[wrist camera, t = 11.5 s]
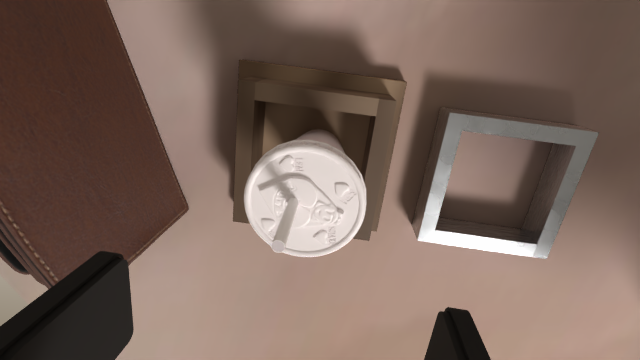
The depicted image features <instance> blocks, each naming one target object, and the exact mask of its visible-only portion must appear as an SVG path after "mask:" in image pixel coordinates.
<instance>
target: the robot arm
mask: <svg viewBox="0 0 640 360" xmlns="http://www.w3.org/2000/svg"><path fill="white" fill-rule="evenodd" d="M132 334H133V318H132V305H131V293H130V281H129V268H128V262H127V260H125V259H124V257H123V255H122V254H119V253H113V252H107V251H99V252H98V253H96V254H95V255H93V256H92V257H91V258H90V259H88V260H87V261H86V262H84V263H83V264H82V265H80V266H79V267H78V268H76V269H75V270H74V271H72V272H71V273H70V274H69V275H67V276H66V277H65V278H63V279H62V280H61V281H59V282H58V283H57V284H55V285H54V286H53V287H51V288H50V289H49V290H48V291H46V292H45V293H44V294H42V295H41V296H40V297H38V298H37V299H36V300H34V301H33V302H32V303H30V304H29V305H28V306H27V307H25V308H24V309H23V310H21V311H20V312H19V313H17V314H16V315H15V316H13V317H12V318H11V319H9V320H8V321H7V322H6V323H4V324H3V325H2V326H0V360H115V359H116V358H117V356H118V355H119V354H120V353H121V351H122V350H123V349H124V348H125V346H126V345H127V344H128V342H129V341H130V339H131V337H132ZM424 360H491V359H490V357H489V355H488V352H487V350H486V348H485V346H484V344H483V341H482V339H481V337H480V335H479V332H478V330H477V328H476V326H475V323H474V321H473V319H472V317H471V314H470V313H469V311H467V310H462V309H456V308H449V307H448V308H446V309H445V311H444V312H442V311H440V312H439V313H438V315H437V319H436V322H435V325H434V329H433V332H432V335H431V339H430V342H429V345H428V349H427V352H426V355H425V359H424Z"/></svg>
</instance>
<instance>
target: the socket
mask: <svg viewBox="0 0 640 360" xmlns="http://www.w3.org/2000/svg"><path fill="white" fill-rule="evenodd" d="M406 84H407V82H406V81H400V80H393V79H385V78H378V77H370V76H363V75H355V74H347V73H340V72H332V71H325V70H317V69H310V68H302V67H294V66H287V65H279V64H272V63H264V62H257V61H249V60H239V80H238V99H237V126H236V153H235V180H234V207H233V221H235V222H242V223H249V224H250V222H249V220H248V217H247V214H246V211H245V206H244V191H245V186H246V182H247V180H248V177H249V175H250V173H251V172H252V170H253V168H254V166H255V164H256V163H257V162H258V161H259V160H260V159H261V157H262V156H263V155H264V154H265V153H266V152H268V151H270V150H271V149H273V148H274V147H276V146H277V145H280V144H283V143H286V142H289V141H292V140H296V139H297V138H299V137H300V136H302V135H303V134H304V133H306V132H308V131H311V130H316V129H320V130H325V131H328V132H330V133H332V134H333V135H334V136H335V137H336V138H337V139H338V140H339V142H340V144H341V146H342V148H343V150H344V152H345V155H347V156H348V157H349V158H350V159H351V160H352V161H353V162H354V163H355V165H356V167H357V168H358V170H359V171H360V173H361V174H362V177H363V180H364V184H365V187H366V211H365V216H364V220H363V222H362V225H361V227H360V229H359V230H358V232H357V233H356V235H355V236H354V237H353V238H354V239H361V240H368V241H369V239H370V234H371V231H377V227H378V222H379V217H380V212H381V207H382V202H383V197H384V192H385V187H386V182H387V178H388V173H389V168H390V163H391V158H392V153H393V148H394V143H395V138H396V133H397V128H398V124H399V119H400V114H401V109H402V104H403V99H404V94H405V89H406Z"/></svg>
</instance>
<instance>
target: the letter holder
mask: <svg viewBox="0 0 640 360" xmlns="http://www.w3.org/2000/svg"><path fill="white" fill-rule="evenodd" d="M188 209H189V208H188V205H187V203H186V200H185V198H184V196H183V193H182V191H181V189H180V186H179V184H178V181H177V179H176V176H175V174H174V171H173V169H172V166H171V164H170V161H169V159H168V156H167V154H166V151H165V148H164V146H163V143H162V141H161V138H160V135H159V133H158V130H157V128H156V125H155V122H154V120H153V118H152V115H151V112H150V109H149V107H148V105H147V102H146V99H145V97H144V94H143V92H142V89H141V87H140V84H139V82H138V79H137V76H136V74H135V71H134V69H133V66H132V64H131V61H130V59H129V56H128V54H127V51H126V49H125V46H124V44H123V41H122V39H121V36H120V33H119V31H118V28H117V26H116V23H115V21H114V18H113V16H112V13H111V11H110V8H109V6H108V3H107V1H106V0H0V257H1V258H2V259H3V260H4V261H5V262H6V263H7V264H8V265H9V266H10V267H11V268H12V269H14V270H15V271H17V272H18V273H21V274H24V275H27V274H31V275H32V276H33V277H34V278H35V279H36V281H38V282H39V283H41V284H43V285H45V286H46V287H47V288H48V289H50V288H51V287H53V286H54V285H55V284H57V283H58V282H59V281H61V280H62V279H63V278H65V277H66V276H67V275H69V274H70V273H71V272H72V271H74V270H75V269H76V268H78V267H79V266H80V265H82V264H83V263H84V262H86V261H87V260H88V259H90V258H91V257H92V256H93V255H95V254H96V253H98V252H99V251H107V252H113V253H119V254H122V255H123V257H124V259H125V260H127V262H128V266H129V265H130V264H131V263H132V262H133V261H134V260H135V259H136V258H137V257H138V256H139V255H141V254H142V253H143V252H144V251H145V250H146V249H147V248H148V247H149V246H150V245H151V244H152V243H154V242H155V240H156V239H158V238H159V237H160V236H161V235H162V234H163V233H164V232H165V231H166V230H167V229H168V228H169V227H171V226H172V225H173V224H174V223H175V222H176V221H177V220H179V219H180V218H181V217H182V216H183V215H184V214H185V213H186V212H187V211H188Z"/></svg>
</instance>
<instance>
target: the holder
mask: <svg viewBox="0 0 640 360" xmlns="http://www.w3.org/2000/svg"><path fill="white" fill-rule="evenodd" d="M462 131H468V132H476V133H483V134H491V135H498V136H505V137H513V138H520V139H528V140H535V141H542V142H550V143H553V146H552V148H551V151H550V154H549V157H548V159H547V162H546V165H545V167H544V170H543V173H542V175H541V178H540V181H539V184H538V186H537V189H536V192H535V194H534V197H533V200H532V202H531V205H530V208H529V210H528V213H527V216H526V219H525V221H524V224H523V227H522V229H518V228H511V227H504V226H497V225H490V224H483V223H476V222H469V221H462V220H455V219H448V218H440V217H439V214H440V210H441V206H442V202H443V199H444V195H445V191H446V188H447V184H448V180H449V177H450V173H451V169H452V166H453V162H454V158H455V155H456V151H457V147H458V144H459V140H460V136H461V132H462ZM598 134H599V132H596V131H593V130H590V129H586V128H583V127H580V126H577V125H571V124H564V123H556V122H549V121H541V120H534V119H526V118H519V117H511V116H504V115H496V114H489V113H481V112H474V111H466V110H459V109H451V108H444V107H441V108H440V112H439V116H438V120H437V124H436V128H435V132H434V136H433V141H432V145H431V149H430V153H429V157H428V161H427V165H426V169H425V173H424V178H423V182H422V186H421V190H420V194H419V198H418V202H417V206H416V210H415V215H414V219H413V223H412V227H413V230H414V233H415V235H416V238H417V240H418V241H424V242H431V243H438V244H445V245H452V246H459V247H466V248H473V249H480V250H487V251H494V252H501V253H508V254H515V255H522V256H529V257H536V258H543V259H547V257H548V254H549V252H550V250H551V247H552V245H553V242H554V240H555V238H556V235H557V233H558V230H559V228H560V225H561V223H562V221H563V218H564V216H565V213H566V211H567V209H568V206H569V204H570V201H571V199H572V197H573V194H574V192H575V189H576V187H577V184H578V182H579V180H580V177H581V175H582V172H583V170H584V168H585V165H586V163H587V160H588V158H589V156H590V153H591V151H592V148H593V146H594V143H595V141H596V139H597V136H598Z"/></svg>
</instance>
